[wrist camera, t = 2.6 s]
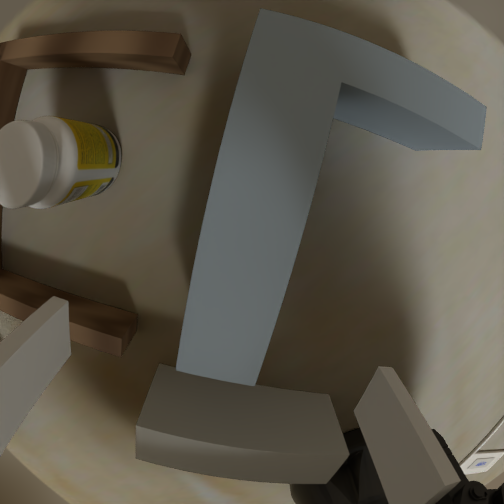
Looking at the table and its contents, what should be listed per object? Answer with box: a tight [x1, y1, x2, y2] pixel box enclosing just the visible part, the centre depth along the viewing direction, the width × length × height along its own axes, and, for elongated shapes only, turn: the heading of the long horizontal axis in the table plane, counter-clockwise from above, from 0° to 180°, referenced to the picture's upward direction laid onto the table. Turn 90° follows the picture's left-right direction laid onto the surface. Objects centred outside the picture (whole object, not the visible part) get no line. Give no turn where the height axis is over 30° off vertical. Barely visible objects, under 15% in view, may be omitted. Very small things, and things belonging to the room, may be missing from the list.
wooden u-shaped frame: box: [0, 31, 191, 357], centre depth 16 cm, size 15×20×4 cm
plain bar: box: [136, 363, 350, 484], centre depth 20 cm, size 14×4×7 cm, turn 76°
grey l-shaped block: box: [176, 8, 486, 386], centre depth 16 cm, size 17×12×7 cm
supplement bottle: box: [0, 116, 121, 209], centre depth 14 cm, size 5×5×8 cm
